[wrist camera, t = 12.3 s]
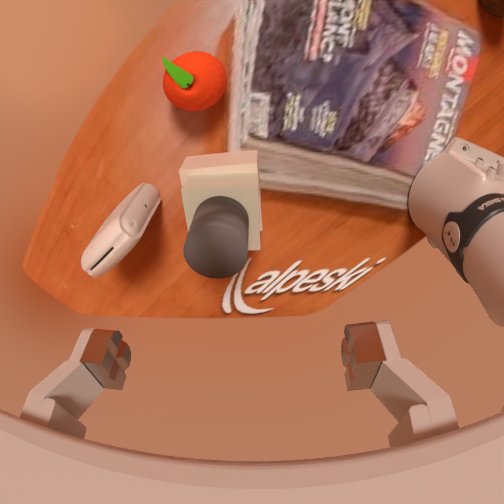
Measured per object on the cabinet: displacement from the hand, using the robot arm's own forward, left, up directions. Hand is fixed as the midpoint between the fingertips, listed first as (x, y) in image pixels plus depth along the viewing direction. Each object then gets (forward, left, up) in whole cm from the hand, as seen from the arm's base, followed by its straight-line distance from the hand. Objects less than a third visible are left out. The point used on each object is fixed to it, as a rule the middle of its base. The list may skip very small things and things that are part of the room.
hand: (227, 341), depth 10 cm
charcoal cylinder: (+3, +8, -22) cm, 24 cm away
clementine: (+6, -7, -31) cm, 32 cm away
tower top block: (+3, +9, -26) cm, 28 cm away
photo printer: (+17, +10, -31) cm, 37 cm away
